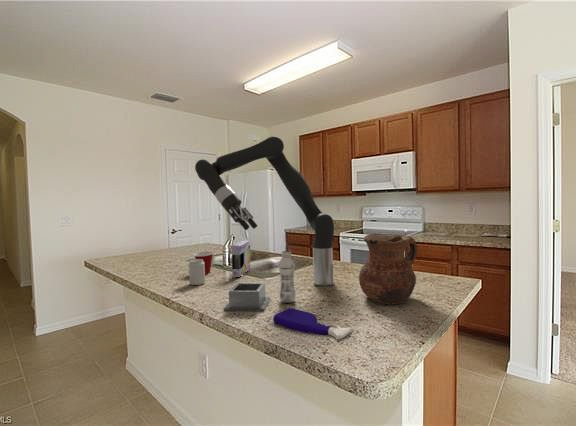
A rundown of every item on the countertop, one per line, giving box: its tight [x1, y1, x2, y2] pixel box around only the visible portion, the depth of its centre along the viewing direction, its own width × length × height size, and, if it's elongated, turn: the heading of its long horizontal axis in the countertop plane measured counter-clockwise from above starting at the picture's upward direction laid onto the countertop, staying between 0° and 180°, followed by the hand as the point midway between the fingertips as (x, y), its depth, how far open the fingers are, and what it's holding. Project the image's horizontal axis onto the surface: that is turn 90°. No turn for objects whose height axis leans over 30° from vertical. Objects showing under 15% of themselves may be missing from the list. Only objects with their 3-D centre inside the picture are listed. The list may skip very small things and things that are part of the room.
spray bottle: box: [273, 307, 353, 340], centre depth 95 cm, size 3×11×24 cm
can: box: [188, 258, 206, 286], centre depth 149 cm, size 8×8×12 cm
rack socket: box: [223, 282, 271, 312], centre depth 117 cm, size 15×13×7 cm
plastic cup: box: [193, 250, 214, 275], centre depth 171 cm, size 11×11×12 cm
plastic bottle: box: [278, 250, 297, 304], centre depth 119 cm, size 6×7×20 cm
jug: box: [358, 233, 418, 305], centre depth 119 cm, size 22×21×25 cm
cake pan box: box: [231, 240, 251, 278], centre depth 167 cm, size 19×5×18 cm, turn 168°
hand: (251, 228), depth 124 cm, fingers open, 8 cm apart
